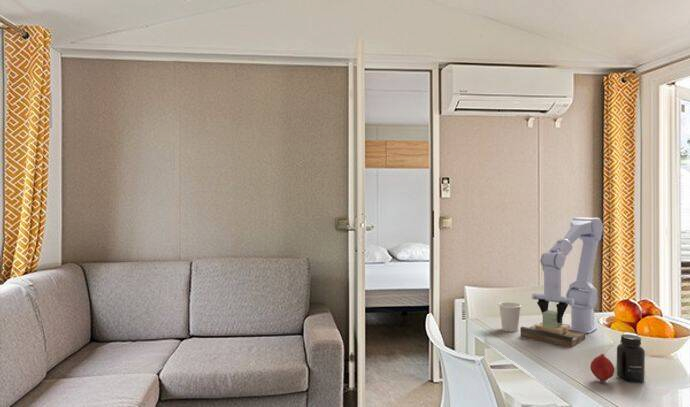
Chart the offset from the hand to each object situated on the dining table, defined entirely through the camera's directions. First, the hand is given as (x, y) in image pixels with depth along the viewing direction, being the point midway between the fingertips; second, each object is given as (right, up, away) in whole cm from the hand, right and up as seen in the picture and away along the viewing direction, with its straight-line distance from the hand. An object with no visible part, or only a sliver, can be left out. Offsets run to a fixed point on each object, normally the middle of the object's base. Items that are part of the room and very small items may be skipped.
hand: (552, 321), depth 170 cm
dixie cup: (-12, -6, +11) cm, 17 cm away
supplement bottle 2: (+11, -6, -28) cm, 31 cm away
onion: (-5, -7, -41) cm, 42 cm away
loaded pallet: (0, -3, 0) cm, 3 cm away
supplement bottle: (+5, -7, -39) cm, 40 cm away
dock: (0, -6, 0) cm, 6 cm away
